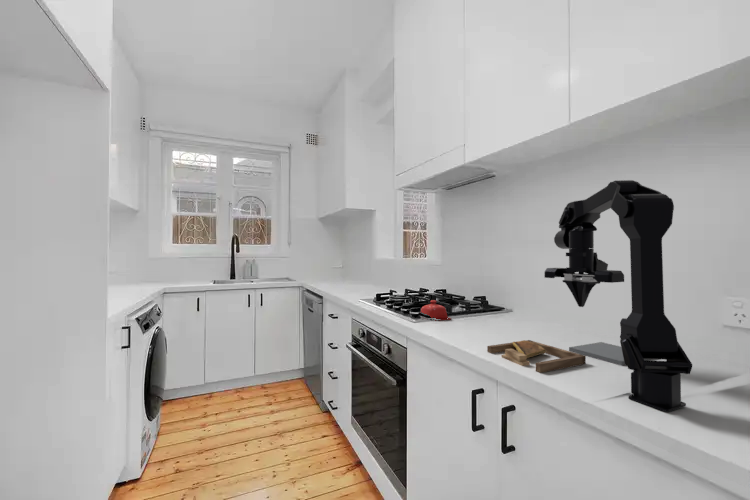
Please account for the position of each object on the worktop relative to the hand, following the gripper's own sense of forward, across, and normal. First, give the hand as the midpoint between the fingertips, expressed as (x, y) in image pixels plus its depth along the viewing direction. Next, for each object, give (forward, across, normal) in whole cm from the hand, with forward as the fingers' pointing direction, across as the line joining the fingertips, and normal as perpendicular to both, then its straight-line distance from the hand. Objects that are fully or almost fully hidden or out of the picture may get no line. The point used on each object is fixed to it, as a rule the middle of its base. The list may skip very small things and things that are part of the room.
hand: (581, 306), depth 93 cm
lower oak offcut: (+14, +4, +20) cm, 25 cm away
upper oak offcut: (+12, +4, +20) cm, 24 cm away
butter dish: (+14, +58, +7) cm, 61 cm away
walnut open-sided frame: (+13, +4, +14) cm, 19 cm away
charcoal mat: (+13, -3, -8) cm, 16 cm away
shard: (+15, +2, +14) cm, 20 cm away
